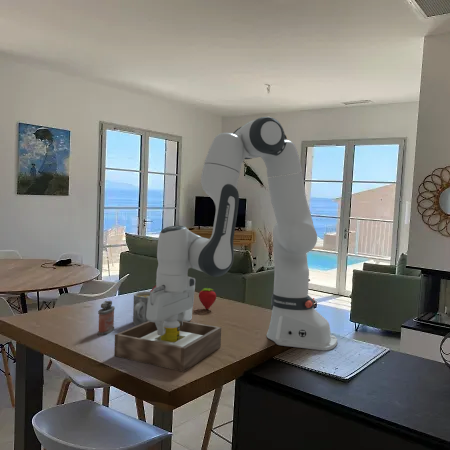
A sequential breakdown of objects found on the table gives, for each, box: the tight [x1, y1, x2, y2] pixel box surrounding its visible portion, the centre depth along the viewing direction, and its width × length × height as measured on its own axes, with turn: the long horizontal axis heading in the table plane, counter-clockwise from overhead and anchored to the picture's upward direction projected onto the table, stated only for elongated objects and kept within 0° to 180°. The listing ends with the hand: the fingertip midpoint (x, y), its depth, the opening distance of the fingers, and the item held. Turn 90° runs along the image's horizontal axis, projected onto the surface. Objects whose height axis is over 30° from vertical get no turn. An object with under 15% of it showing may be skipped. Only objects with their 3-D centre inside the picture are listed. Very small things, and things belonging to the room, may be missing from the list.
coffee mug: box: [132, 291, 152, 326], centre depth 156 cm, size 13×10×10 cm
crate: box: [113, 321, 222, 372], centre depth 130 cm, size 22×22×6 cm
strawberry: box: [198, 284, 217, 310], centre depth 180 cm, size 6×8×10 cm
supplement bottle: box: [161, 314, 180, 343], centre depth 130 cm, size 5×5×10 cm
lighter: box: [97, 300, 116, 337], centre depth 146 cm, size 8×3×10 cm, turn 168°
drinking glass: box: [183, 284, 196, 322], centre depth 163 cm, size 7×7×15 cm
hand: (170, 330), depth 130 cm, fingers open, 8 cm apart
